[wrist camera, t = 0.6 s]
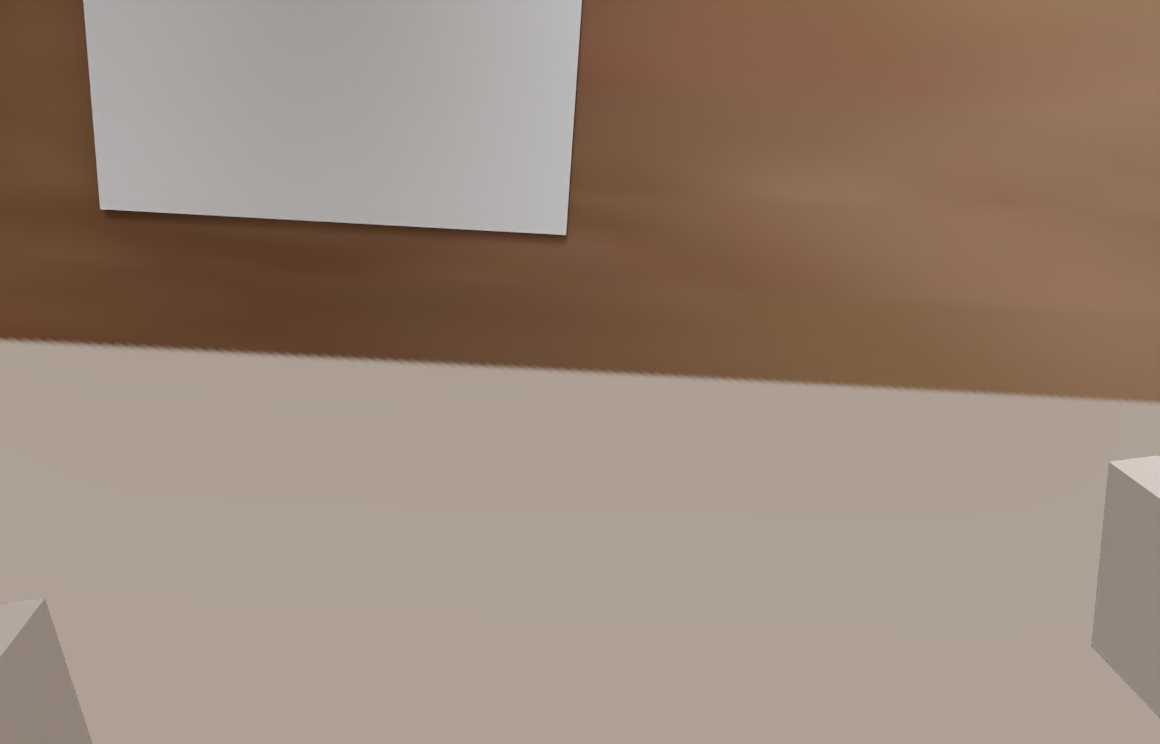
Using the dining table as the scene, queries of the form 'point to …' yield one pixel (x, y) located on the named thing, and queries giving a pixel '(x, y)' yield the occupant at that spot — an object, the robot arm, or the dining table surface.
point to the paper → (337, 109)
